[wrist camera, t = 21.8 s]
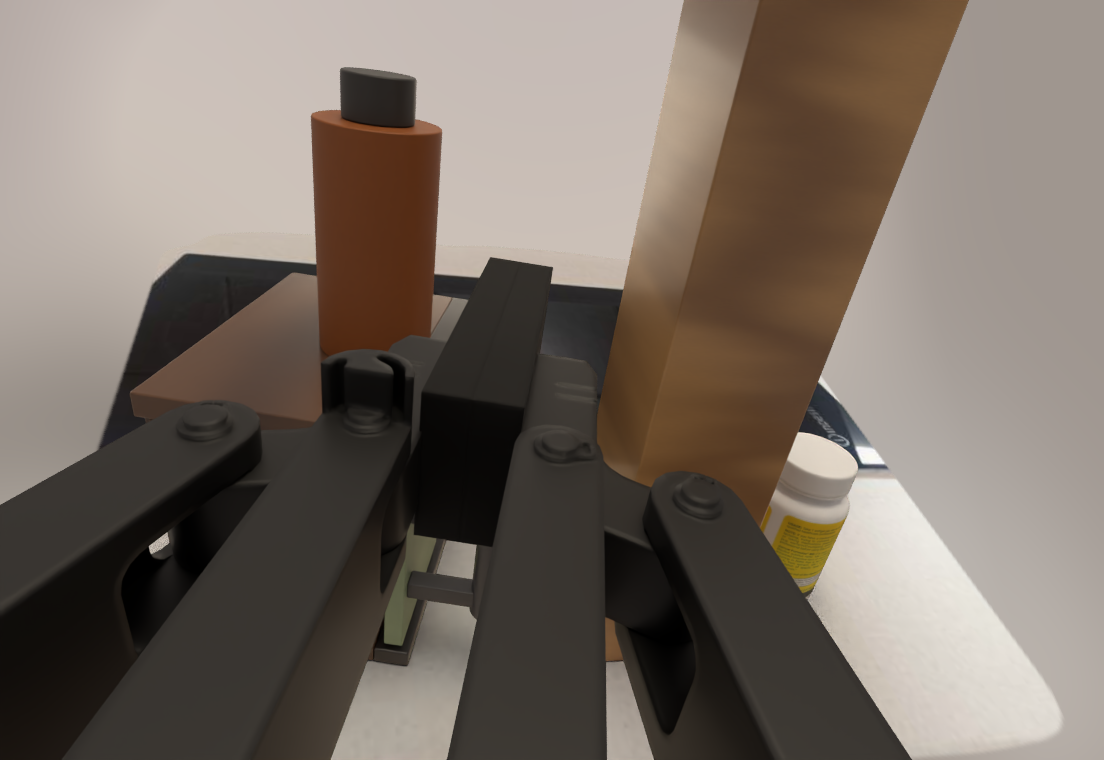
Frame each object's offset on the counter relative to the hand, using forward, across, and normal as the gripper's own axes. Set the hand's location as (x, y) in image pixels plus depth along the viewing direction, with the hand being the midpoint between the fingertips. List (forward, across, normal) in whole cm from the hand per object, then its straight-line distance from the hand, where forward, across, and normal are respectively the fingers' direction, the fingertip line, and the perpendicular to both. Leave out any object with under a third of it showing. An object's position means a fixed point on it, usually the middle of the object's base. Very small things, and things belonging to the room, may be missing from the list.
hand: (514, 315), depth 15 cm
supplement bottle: (+13, +15, -19) cm, 27 cm away
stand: (+9, +7, -18) cm, 22 cm away
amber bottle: (+10, -6, -6) cm, 14 cm away
